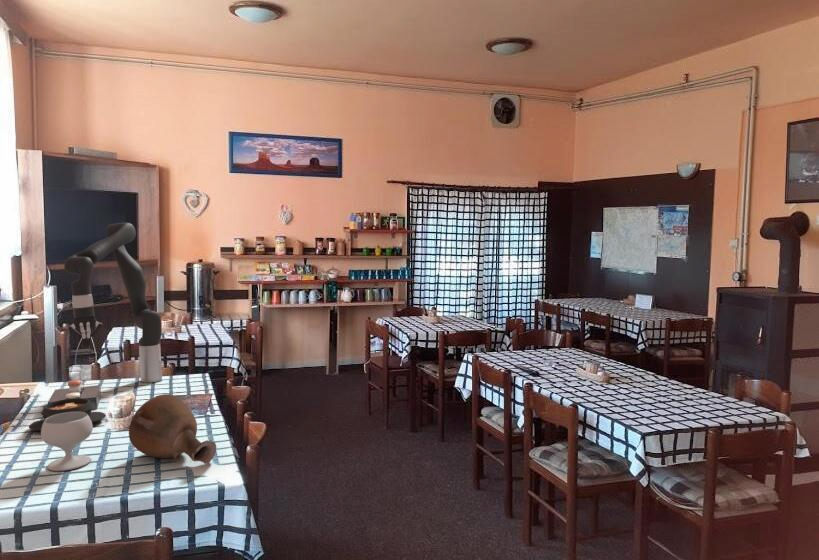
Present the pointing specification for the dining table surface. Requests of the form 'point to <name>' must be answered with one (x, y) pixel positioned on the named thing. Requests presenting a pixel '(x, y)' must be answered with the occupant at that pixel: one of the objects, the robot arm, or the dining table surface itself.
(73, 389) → the middle knob
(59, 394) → the control box
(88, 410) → the casserole
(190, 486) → the dining table surface
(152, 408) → the jug
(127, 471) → the dining table surface
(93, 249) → the robot arm
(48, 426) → the chalice
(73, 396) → the knob
